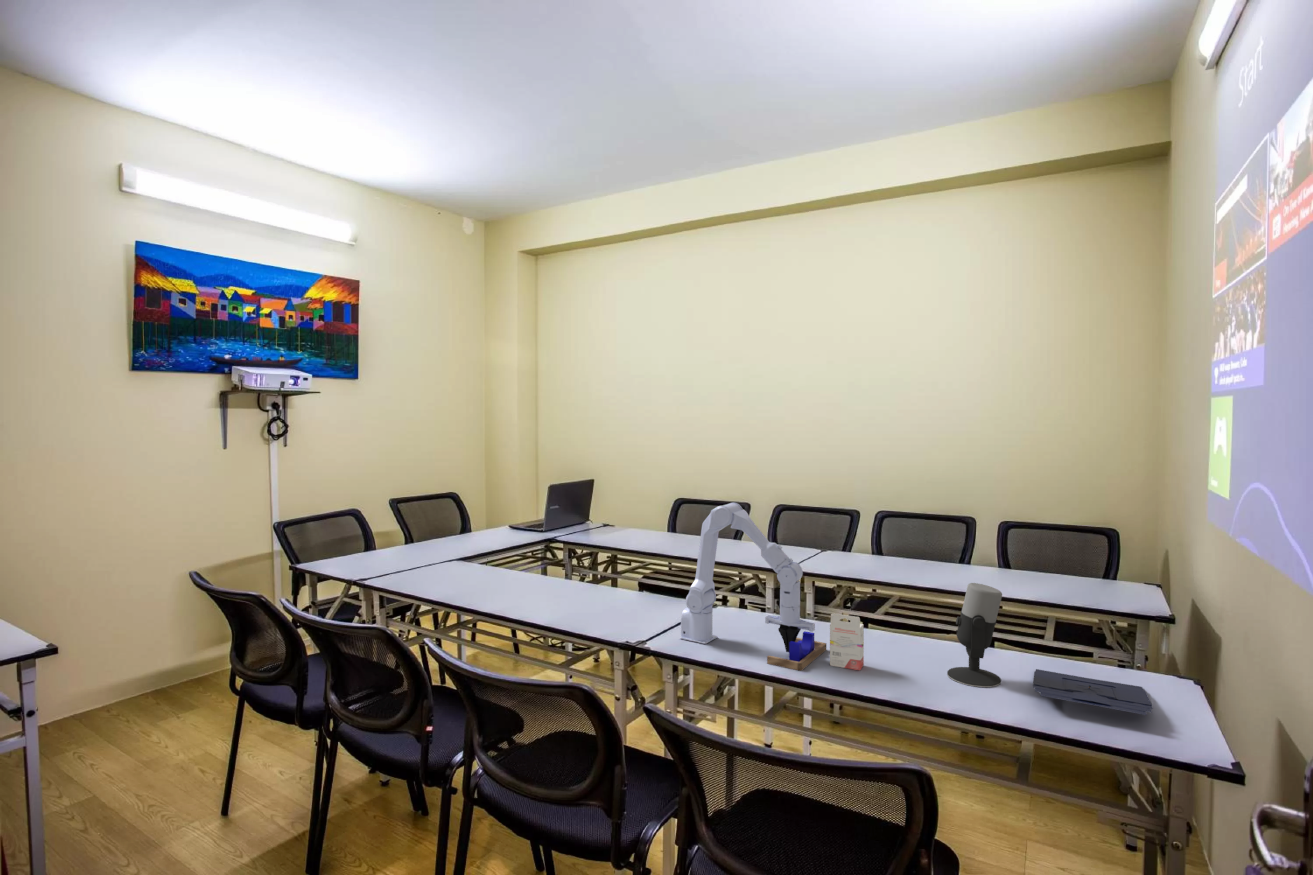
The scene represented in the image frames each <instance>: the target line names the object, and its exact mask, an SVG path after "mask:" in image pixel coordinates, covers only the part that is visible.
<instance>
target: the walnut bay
mask: <svg viewBox="0 0 1313 875" xmlns="http://www.w3.org/2000/svg"><path fill="white" fill-rule="evenodd" d="M802 638H803V637H797V638H796V640H795V642H798V641H802ZM826 651H827V643H826V642H821V641H817V640H814V650H813V651H812V652H811V653H810V654H808V655H807V656H806V657H805V658H803V659H802V660H801V661H799V662H797V661H793V660H789V658H784V657H778V656H773V655H767V656H766V657H767V658H766V659H767V660H766V661H767V662H766V663H767V664H768V665H771V666H772V665H773V666H775V667H776V666H777V667H781V668H786V669H790V670H795V671H799V672H801V671H803V670H804V669H805V668H807V667H808V666H809V665H810V664H811V663H812V662H814V661H815V660H816V659H818V657H820V656H821V655H822V654H823V653H824V652H826Z"/></svg>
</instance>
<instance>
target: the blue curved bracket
mask: <svg viewBox="0 0 1313 875" xmlns="http://www.w3.org/2000/svg"><path fill="white" fill-rule="evenodd" d="M801 638H802V641H798V642H793V641H791V642H789V652H788V660H793V661H797V662H799V661H801V660H802V659H803V658H805V657H806V656H807V655H808V654H810V653H811V652H812V651H813V650H815V649H814V641H815V632H811V631H807V630H805V631H803V632H802V637H801Z"/></svg>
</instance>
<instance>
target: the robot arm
mask: <svg viewBox="0 0 1313 875" xmlns="http://www.w3.org/2000/svg"><path fill="white" fill-rule="evenodd" d="M728 526H730V529H733V530H738V531H742V532H743V533H744V534H745V535H746V536H747V537H748V538H749V539H750V540H751V541H752V542H753V543H754V544H755V545H756V546H757V547H758V549H760V556H761V557H762V559H764V561H765V562H766V563H767V565H769V566H770V568H771V569H772V570H773V571H774V572H775V574H776V578H777V581H778V582H779V584H780V585H779V588H780V589H779V615H765V624H772V625H778V626H779V627H778V632H779V634H780V636H781V639H782V642H783V644H784V649H785V652H786V653H789V642H791V641H793V642H795V640H796V638H798V635H799V633H800V632H801V630H805V631H808V632H812V633H814V631H815V630H816V623H814V622H810V621H807V620H804V619H801V581H800V580H801V578H802V577H803V575H804V572H803V568H802V567H801V565H800V563H798V562H797V561H794V559H793V558H791V557H790V558H789V556H788V555H787V554H786V552H785V551H784V550H783V546H781V544H777V543H776V542H772V541H769V539H768V538H767V537H766V536H765V535H764V534H763V532H762V531H761V529H759V527H758V526H757V525H756V524H755V522H754V521H753V520H752V518H751V517H750V515H749V513H748V511H746V510H745V509H743V507H742V505H741V504H739V503H738V502H730V503H727V504H723V505H719V506H716V507H715V508H712V509H711V510H710V513H709V515H708V516H706V518H705V519H704V521H703V522H702V524H701V531H700V538H699V545H698V546H699V548H698V553H697V554H698V555H697V562H696V572H695V578H694V581H693V582H692V584H691V585H690V587H689V591H688V594H687V595H686V597H685V605H686V607H685V608H684V609H683V610H682V612H681V616H680V636H679V639H681V640H685V641H690V642H694V643H699V644H705V645H706V644H709V643H710V642H712V641H714V640H715V639H717V638H718V636H719V635H715V634H713V605H714V603H715V602H716V600H717V595H716V590H715V587H716V585H715V584H716V583H715V582H714V580H713V578H714V572H715V563H716V557H717V556H716V555H717V548H718V542H719V540H718V539H719V532H720V531H721V530H723V529H725V528H726V527H728Z"/></svg>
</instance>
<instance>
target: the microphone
mask: <svg viewBox="0 0 1313 875" xmlns="http://www.w3.org/2000/svg"><path fill="white" fill-rule="evenodd" d="M1002 597H1003V593H1002V591H1001V590H999V589H997V588H995V587H993V586H989V585H986V584H983V583H978V582H970V583H968V584H967V588H966V591H965V596H964V600H963V604H962V607H961V612H960V616H957V617H956V620H955V625H957V629H955V632H956V638H957V640H958V642H959V643H960V644H961V645H962V646H963V647H965V651H966V654H967V656H968V666H956V667H950V668H949V669H948V670H947V674H946V675H947V677H948V678H949V679H951V680H952V681H953V682H955V683H958V684H961V685H965V686H968V687H973V688H974V687H975V688H995V687H998V686H1000V685H1001V684H1002V679H1001V677H1000V676H999V675H998V674H996V673H994V672H992V671H989V670H986V669H982V668H980V660H981V659H984V657H985V650H987V649H988V648H989V647H990V646H991V644H992V641H993V636H994V630H995V627H996V625H997V617H998V614H999V610H1000V605H1001V601H1002V599H1003V598H1002Z"/></svg>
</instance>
